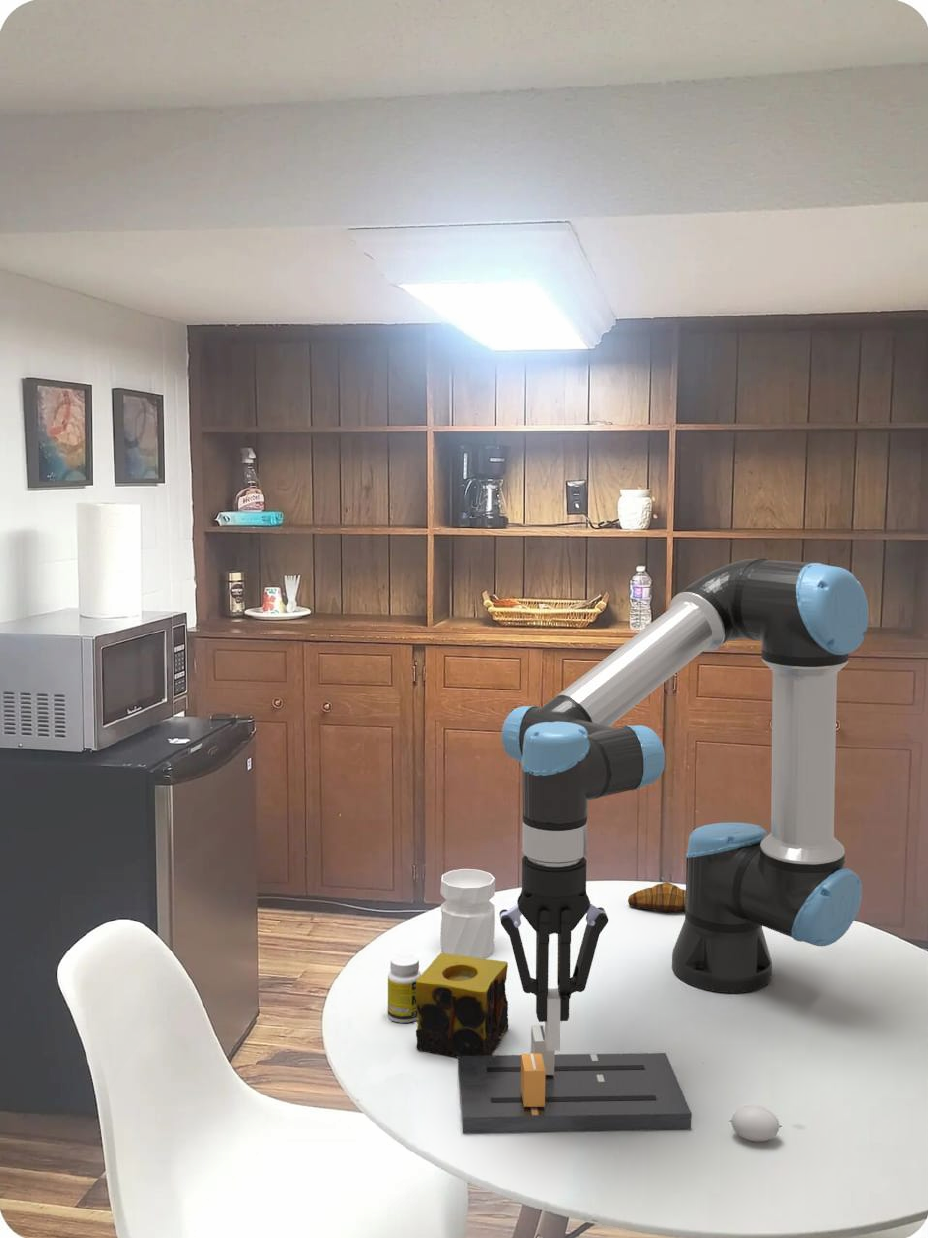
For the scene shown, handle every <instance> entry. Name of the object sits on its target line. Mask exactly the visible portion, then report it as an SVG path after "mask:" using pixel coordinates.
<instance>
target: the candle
mask: <svg viewBox="0 0 928 1238" xmlns="http://www.w3.org/2000/svg"><path fill="white" fill-rule="evenodd" d="M508 964H509V963H508V962H507V961H505V960H496V959H495V960H494V959H489V958H485V959H482V958H475V957H468V956H461V955H454V954H446V953H443V952H440V953H439V954H438V955H437V956H436V957H435V959H434V960H433V961H432V962H431V964H429V966H428V967H427V968H426V969H425V970H424V971H423V972H422V973H421V976H420V977H419V978H418V979H417V980H416V1005H417V1010H418V1012H417V1020H416V1021H417V1025H416V1026H417V1027H416V1030H415V1037H416V1045H415V1047H416V1049H417V1050H419V1051H422V1052H427V1053H432V1054H438V1055H441V1056H447V1057H454V1058H458V1056H487V1055H492V1053H494V1052H495V1050H496V1049H497V1047H498V1046H499V1044H500V1042H501V1041H502V1039H501V1037H502V1036H503V1035H504V1034H505V1033H506V1032H508V1029H509V1027H510V1026H509V1018H508V1016H509V1013H508V1012H509V1007H508V1006H509V1002H508V998H507V994H506V981H507V977H508V976H507V975H508V974H507V973H508V967H509V966H508Z"/></svg>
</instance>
